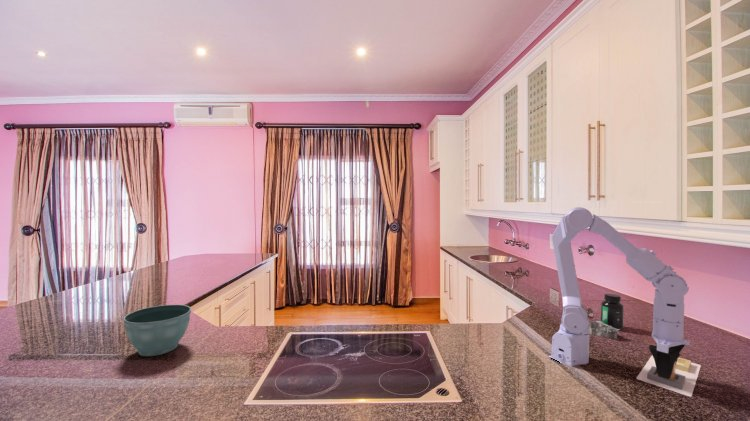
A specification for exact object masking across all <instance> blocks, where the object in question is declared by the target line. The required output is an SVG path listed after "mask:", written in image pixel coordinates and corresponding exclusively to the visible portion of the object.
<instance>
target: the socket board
mask: <svg viewBox="0 0 750 421" xmlns="http://www.w3.org/2000/svg"><path fill="white" fill-rule="evenodd" d="M701 368H702V364H698V363H695V362H692V360H690V359H685V358H682V357H679V358H678V359H677V363H676V366H675V381H673V380H670V379H666V378H663V377H660V376H657V369H656V364H655V360H654V358H653V355H652V354H651V356H650V357H649V359H648V360H647V362H646V364H645V365H644V366H643V368H642V369H641V370H640V372H639V374H638V375H637V376H636V380H638V381H642V382H645V383H647V384H651V385H654V386H657V387H659V388H663V389H666V390H669V391H672V392H675V393H677V394H681V395H683V396H687V397H690V398H691V397H692V396H693V392H694V389H695V387H696V383H697V379H698V376H699V372H700V369H701Z"/></svg>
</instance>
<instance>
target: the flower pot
mask: <svg viewBox="0 0 750 421" xmlns="http://www.w3.org/2000/svg"><path fill="white" fill-rule="evenodd" d="M191 311H192V307H191V306H189V305H185V304H163V305H156V306H150V307H145V308H140V309H138V310H134V311H131V312H130V313H128V314H126V315H125V316H124V317H123V324H124V326H125V327H124V328H125V333H126V337H127V339H128V341H129V342H130V344H131V345H132V346H133V348H135V349H136V350H137V354H138V355H140V356H141V357H155V356H160V355H163V354H168V353H170V352H172V351H174V350H176V349H177V347H178V345H179V342H180V340H182V338H183V337H184V336H185V333H186V332H187V329H188V326H189V324H190V317H191Z"/></svg>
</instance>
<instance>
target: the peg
mask: <svg viewBox="0 0 750 421" xmlns="http://www.w3.org/2000/svg"><path fill="white" fill-rule="evenodd" d="M675 366H676V361H675V363H674V366H673V370H672V374H671V377H670V380H673V381H675ZM657 376H658V373H657Z"/></svg>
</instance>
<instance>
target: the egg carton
mask: <svg viewBox="0 0 750 421" xmlns="http://www.w3.org/2000/svg"><path fill="white" fill-rule="evenodd" d="M587 329H589V331H590V333H589V335H592V334H593V335H594V336H598V337H603V338H605V339H613V340H618V331H621V330H620V329H616V328H614V327H612V326H609V325H606V324H604V323H603V322H601V320H592V321H590V320H588V328H587Z"/></svg>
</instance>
